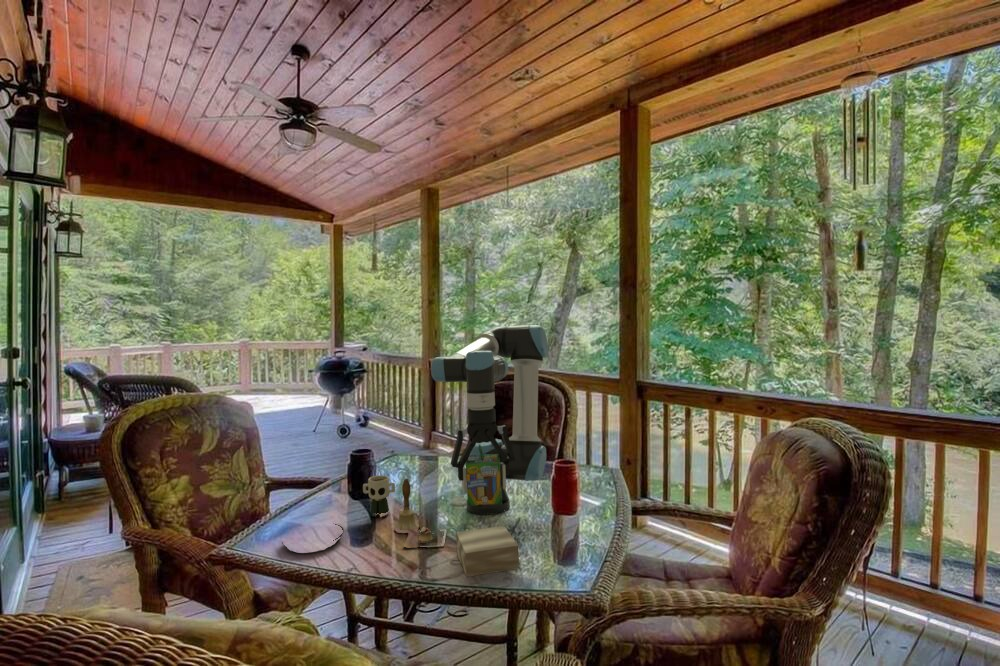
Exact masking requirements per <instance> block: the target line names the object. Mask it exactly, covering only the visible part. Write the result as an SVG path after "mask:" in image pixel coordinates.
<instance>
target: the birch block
mask: <svg viewBox="0 0 1000 666" xmlns="http://www.w3.org/2000/svg"><path fill="white" fill-rule="evenodd" d="M455 534H456V536H455V537H456V555H457V557H458V559H459V563H460V565H461V566H462V569H463V572H464V575H465V576H466V577H467V578H468V577H473V576H479V575H484V574H491V573H492V574H493V573H497V572H498V573H499V572H504V571H509V570H511V571H512V570H516V568H517V569H520V557H519V555H520V553H519V544H518V543H517V541H516V540H515V539H514V537H513V536H512V535H511V533H510V531H508V529H507V527H506V526H505V525H500V526H491V527H483V528H480V529H479V528H478V529H477V528H476V529H470V530H464V531H458V532H457V531H456V533H455Z"/></svg>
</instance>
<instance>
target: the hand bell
mask: <svg viewBox="0 0 1000 666" xmlns="http://www.w3.org/2000/svg"><path fill="white" fill-rule="evenodd" d="M401 488H402V489H401V491H402V496H403V510H402V511H400V512H399V517H398V522H397V524H396V526H395V527H397V528H398V529H400V530H413V529H416V528H418V527H419V525H420V524H419V523H418V522H417V520H416V518H415V513H414V511H413V510H411V509H410V496H411V484H410V481H409V478H404V479H403V482H402V487H401Z"/></svg>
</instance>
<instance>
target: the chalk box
mask: <svg viewBox="0 0 1000 666" xmlns="http://www.w3.org/2000/svg"><path fill="white" fill-rule="evenodd" d="M479 452H480V455H469V457H468V459H467V461H466V463H465V468H466V479H467V493H466V495H467V498H468V506H475V505H492V504H502V493H501V476H500V456H499V454H483V452H482V449H481V446H480V444H479Z"/></svg>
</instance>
